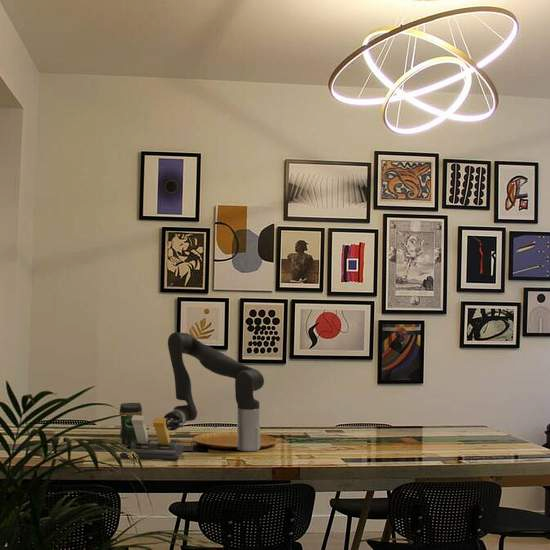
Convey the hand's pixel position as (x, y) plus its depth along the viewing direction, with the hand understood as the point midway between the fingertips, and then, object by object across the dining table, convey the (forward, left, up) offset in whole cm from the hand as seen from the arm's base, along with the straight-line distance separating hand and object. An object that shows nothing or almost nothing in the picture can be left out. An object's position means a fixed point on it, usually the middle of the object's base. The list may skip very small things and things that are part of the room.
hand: (162, 427), depth 309 cm
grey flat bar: (+4, +4, -12) cm, 13 cm away
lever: (+9, -5, -8) cm, 13 cm away
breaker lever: (0, -5, -8) cm, 10 cm away
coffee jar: (+19, -17, -12) cm, 28 cm away
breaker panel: (+4, -4, -12) cm, 13 cm away
